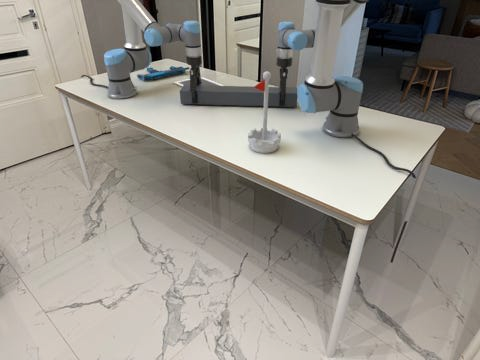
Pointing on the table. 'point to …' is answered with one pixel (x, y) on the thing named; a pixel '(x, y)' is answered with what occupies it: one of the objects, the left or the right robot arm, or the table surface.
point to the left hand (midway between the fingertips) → (196, 99)
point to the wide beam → (237, 95)
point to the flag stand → (264, 125)
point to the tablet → (203, 80)
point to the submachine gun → (161, 73)
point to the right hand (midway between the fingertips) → (281, 101)
